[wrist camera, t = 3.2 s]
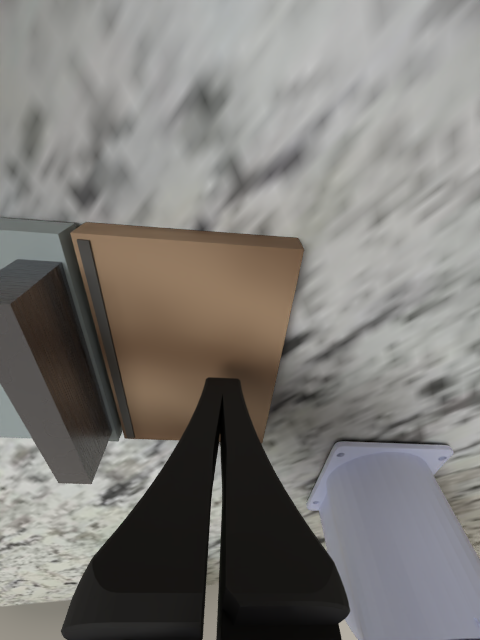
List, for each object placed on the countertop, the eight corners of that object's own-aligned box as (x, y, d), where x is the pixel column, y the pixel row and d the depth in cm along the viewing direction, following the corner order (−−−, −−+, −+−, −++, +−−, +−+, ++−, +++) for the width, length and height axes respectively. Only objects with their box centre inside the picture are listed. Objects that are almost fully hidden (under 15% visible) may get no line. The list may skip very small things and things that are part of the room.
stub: (125, 423, 17) (99, 493, 14) (4, 418, 17) (-51, 490, 14) (74, 223, 10) (0, 271, 7) (-130, 208, 10) (-306, 250, 7)
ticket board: (260, 425, 18) (262, 444, 17) (131, 420, 17) (124, 440, 16) (298, 238, 11) (304, 250, 10) (85, 222, 11) (68, 233, 10)
